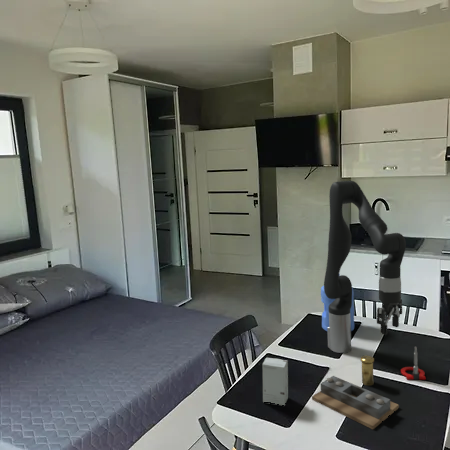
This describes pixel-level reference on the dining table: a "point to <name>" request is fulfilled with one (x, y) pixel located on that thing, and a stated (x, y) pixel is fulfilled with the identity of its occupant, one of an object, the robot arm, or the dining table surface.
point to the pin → (367, 370)
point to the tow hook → (415, 374)
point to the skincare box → (275, 381)
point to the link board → (354, 402)
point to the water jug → (326, 309)
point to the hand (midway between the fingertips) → (389, 330)
